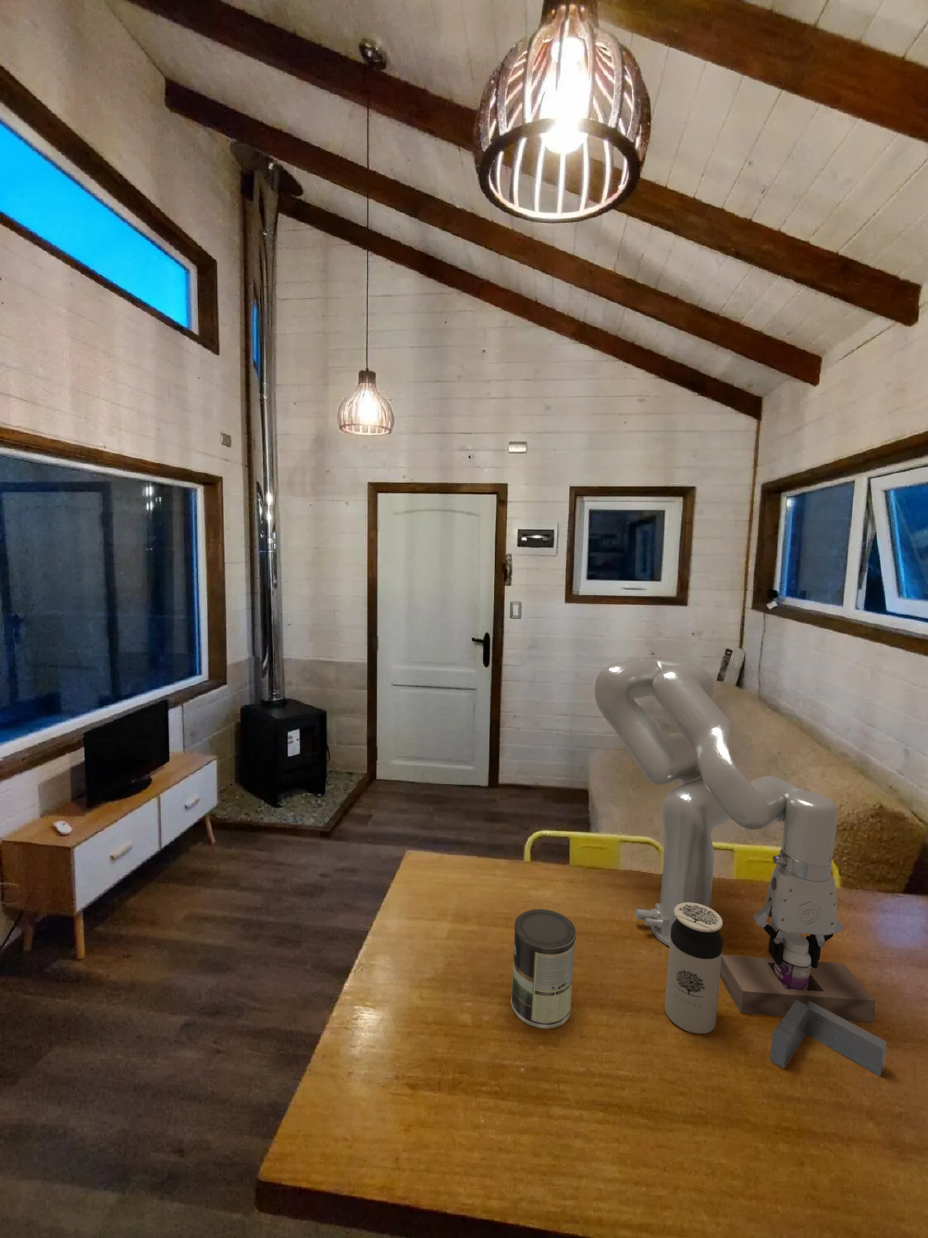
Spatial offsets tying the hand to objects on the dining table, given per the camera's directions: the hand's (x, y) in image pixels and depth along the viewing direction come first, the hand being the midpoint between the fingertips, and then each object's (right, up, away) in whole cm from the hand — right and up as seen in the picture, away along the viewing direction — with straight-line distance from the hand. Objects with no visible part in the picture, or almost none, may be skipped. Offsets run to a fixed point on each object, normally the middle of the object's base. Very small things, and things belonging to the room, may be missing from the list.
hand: (792, 960), depth 100 cm
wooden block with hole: (0, -7, 0) cm, 7 cm away
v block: (-2, -8, -10) cm, 13 cm away
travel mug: (-20, -7, -5) cm, 22 cm away
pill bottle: (0, -6, +1) cm, 6 cm away
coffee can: (-45, -6, -4) cm, 46 cm away
